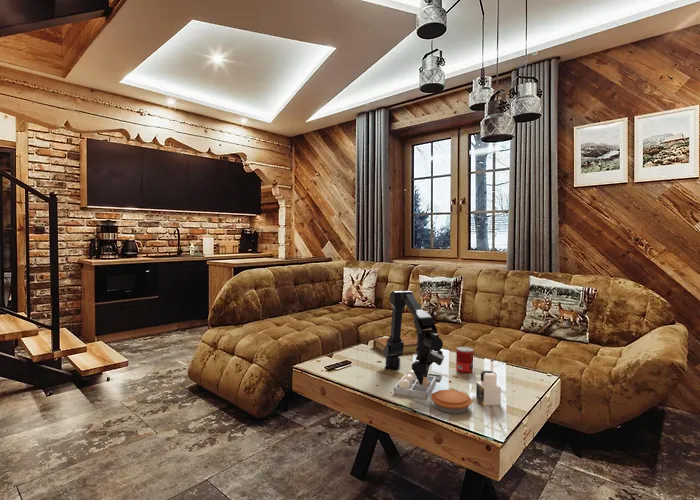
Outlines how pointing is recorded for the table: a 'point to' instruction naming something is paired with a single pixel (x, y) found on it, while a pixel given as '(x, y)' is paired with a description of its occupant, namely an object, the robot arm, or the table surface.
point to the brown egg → (425, 382)
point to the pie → (451, 401)
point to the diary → (409, 342)
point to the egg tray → (416, 388)
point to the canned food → (464, 359)
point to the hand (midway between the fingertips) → (423, 380)
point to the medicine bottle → (488, 389)
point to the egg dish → (438, 377)
